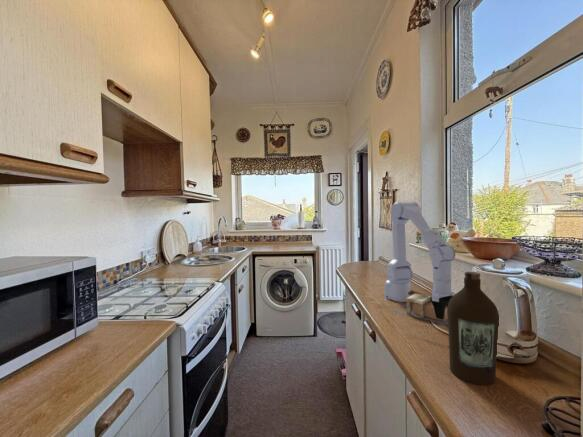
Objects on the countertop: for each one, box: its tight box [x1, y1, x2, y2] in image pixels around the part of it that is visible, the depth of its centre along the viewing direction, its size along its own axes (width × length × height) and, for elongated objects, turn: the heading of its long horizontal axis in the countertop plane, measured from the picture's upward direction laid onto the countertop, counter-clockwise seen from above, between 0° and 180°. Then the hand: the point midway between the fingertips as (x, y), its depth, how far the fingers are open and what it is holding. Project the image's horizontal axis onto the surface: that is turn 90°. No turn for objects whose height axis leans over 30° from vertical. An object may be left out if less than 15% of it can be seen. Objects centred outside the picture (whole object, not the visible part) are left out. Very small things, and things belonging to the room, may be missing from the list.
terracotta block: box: [412, 302, 448, 321], centre depth 102 cm, size 11×4×4 cm, turn 44°
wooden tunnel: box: [405, 292, 432, 319], centre depth 105 cm, size 6×8×6 cm
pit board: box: [393, 304, 448, 326], centre depth 103 cm, size 21×10×1 cm, turn 44°
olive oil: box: [447, 271, 500, 386], centre depth 67 cm, size 11×11×25 cm
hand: (441, 316), depth 99 cm, fingers closed on terracotta block, 4 cm apart
